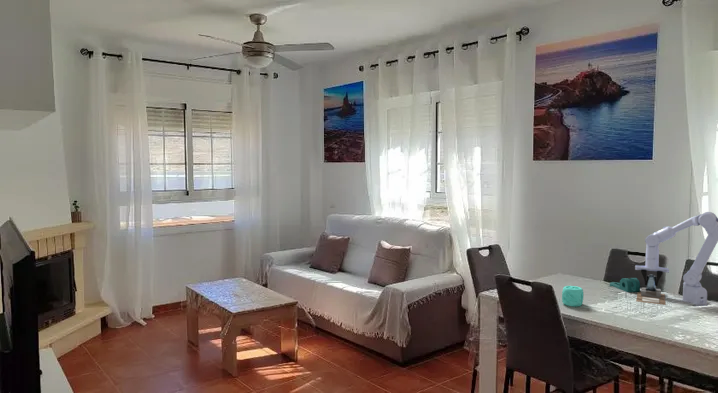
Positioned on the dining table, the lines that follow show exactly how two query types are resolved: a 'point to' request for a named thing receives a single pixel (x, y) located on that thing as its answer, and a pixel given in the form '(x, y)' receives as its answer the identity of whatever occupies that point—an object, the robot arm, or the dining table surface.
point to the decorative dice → (572, 296)
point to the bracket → (627, 285)
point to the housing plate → (662, 300)
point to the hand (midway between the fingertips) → (651, 285)
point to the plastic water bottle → (651, 283)
